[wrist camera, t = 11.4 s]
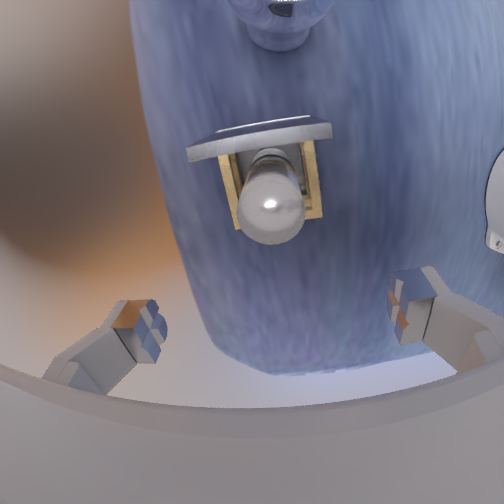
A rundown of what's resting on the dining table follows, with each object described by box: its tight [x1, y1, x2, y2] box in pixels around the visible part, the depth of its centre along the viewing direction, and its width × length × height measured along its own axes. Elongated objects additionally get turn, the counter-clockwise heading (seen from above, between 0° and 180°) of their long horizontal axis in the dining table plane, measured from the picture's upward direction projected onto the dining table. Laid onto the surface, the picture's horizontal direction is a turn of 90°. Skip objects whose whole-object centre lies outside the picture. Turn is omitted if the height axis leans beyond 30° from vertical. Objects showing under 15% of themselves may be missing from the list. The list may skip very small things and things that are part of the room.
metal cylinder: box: [236, 148, 306, 245], centre depth 21 cm, size 4×4×12 cm
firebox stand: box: [186, 115, 333, 230], centre depth 23 cm, size 9×9×11 cm
